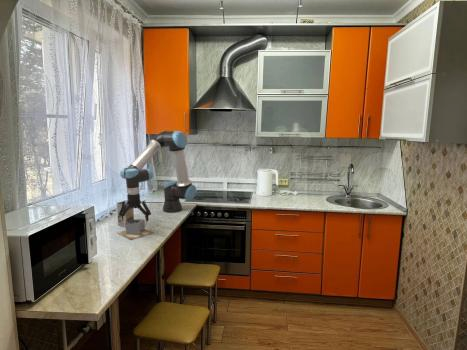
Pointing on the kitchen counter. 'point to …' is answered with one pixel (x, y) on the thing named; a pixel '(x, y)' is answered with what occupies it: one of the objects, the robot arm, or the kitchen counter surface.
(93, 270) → the kitchen counter surface
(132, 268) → the kitchen counter surface
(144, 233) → the post board
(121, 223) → the coffee box
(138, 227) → the square sleeve with handle
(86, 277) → the kitchen counter surface
